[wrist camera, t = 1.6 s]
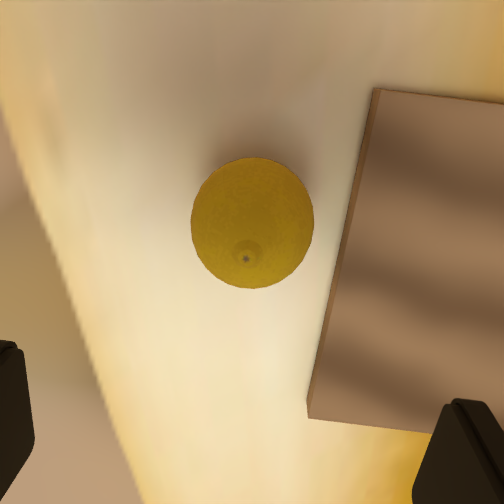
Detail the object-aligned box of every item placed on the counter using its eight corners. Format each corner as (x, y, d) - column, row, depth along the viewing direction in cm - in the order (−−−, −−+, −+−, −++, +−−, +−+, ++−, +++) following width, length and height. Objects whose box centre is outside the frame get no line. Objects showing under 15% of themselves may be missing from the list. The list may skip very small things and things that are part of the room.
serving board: (374, 88, 20) (380, 90, 19) (706, 128, 20) (737, 133, 19) (306, 401, 29) (307, 418, 28) (541, 430, 29) (554, 448, 27)
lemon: (213, 134, 22) (180, 172, 15) (319, 154, 22) (339, 202, 15) (199, 232, 24) (166, 307, 17) (295, 249, 24) (303, 332, 17)
